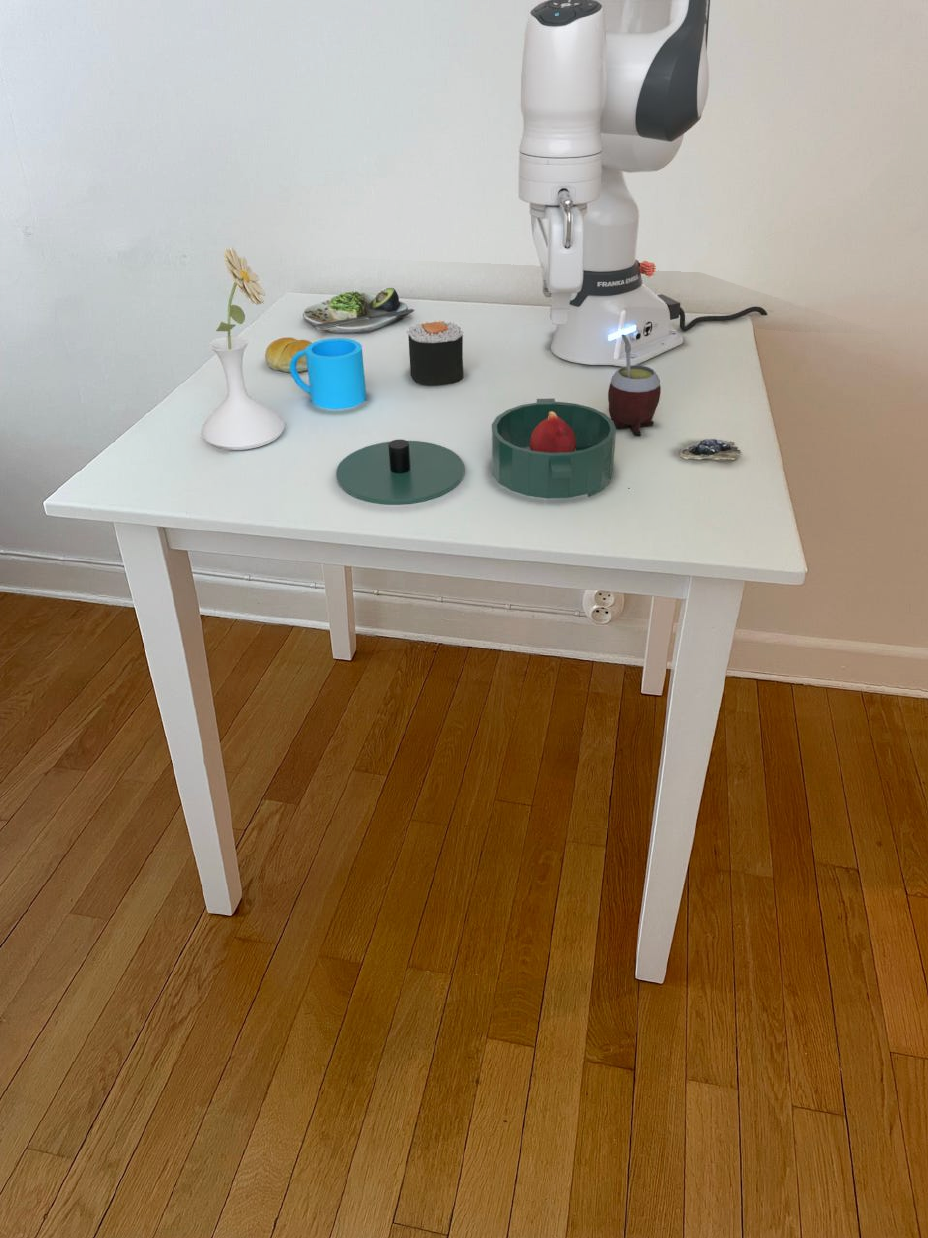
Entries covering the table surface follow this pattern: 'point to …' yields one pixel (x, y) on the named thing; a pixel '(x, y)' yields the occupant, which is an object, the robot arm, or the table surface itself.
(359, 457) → the lid
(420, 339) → the sushi
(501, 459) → the pot
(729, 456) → the blueberries
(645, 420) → the mate gourd
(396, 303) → the salad plate
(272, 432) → the flower in vase
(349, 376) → the mug
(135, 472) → the table surface
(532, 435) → the onion
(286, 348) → the bread roll
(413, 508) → the table surface
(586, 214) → the robot arm
